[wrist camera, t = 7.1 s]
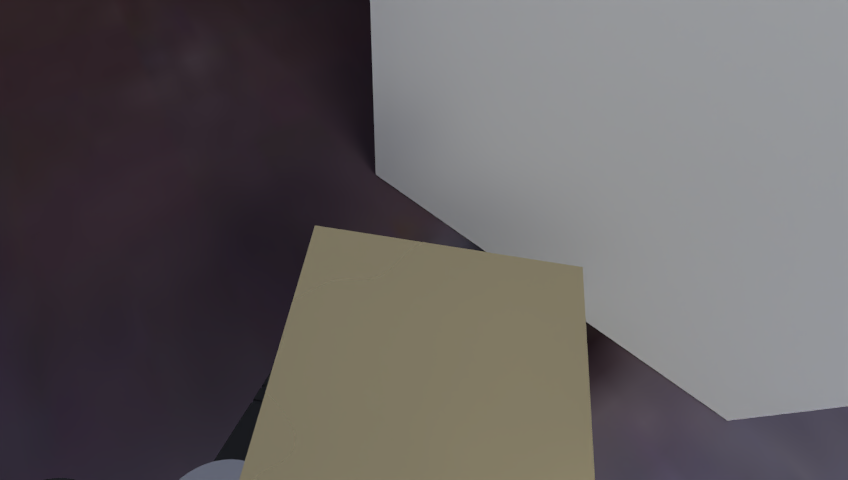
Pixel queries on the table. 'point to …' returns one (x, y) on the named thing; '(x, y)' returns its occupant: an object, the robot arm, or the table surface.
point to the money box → (644, 171)
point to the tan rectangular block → (426, 367)
